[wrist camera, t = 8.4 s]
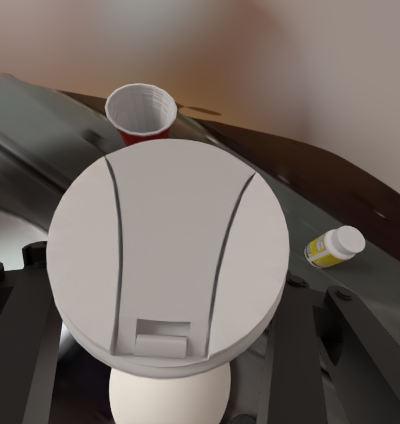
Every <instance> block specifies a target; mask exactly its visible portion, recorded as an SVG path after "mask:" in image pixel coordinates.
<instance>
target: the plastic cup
mask: <svg viewBox="0 0 400 424" xmlns="http://www.w3.org/2000/svg"><path fill="white" fill-rule="evenodd" d="M105 110H106V114H107V118H108V119H109V120H110V122H111V123H112V124H113V125H114V126H115V127H116V128H117V130H118V131H119V132H120V134H121V136H122V138H123V140H124V142H125V144H126V145H127V147H128V146H131V145H134V144H137V143H140V142H145V141H150V140H156V139H168V133H169V130H170V126H171V124H172V123H173V122H174V120H175V118H176V111H177V107H176V105H175V102H174V100H173V98H172V97H171V96H170V95H169V94H168V93H167V92H166V91H164V90H162V89H160V88H158V87H156V86H154V85H148V84H142V83H139V84H129V85H125V86H123V87H121V88H119V89H116V90H115V91H114V92H113V93H112V94H111V95H110V96H109V97H108V99H107V102H106V105H105Z"/></svg>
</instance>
